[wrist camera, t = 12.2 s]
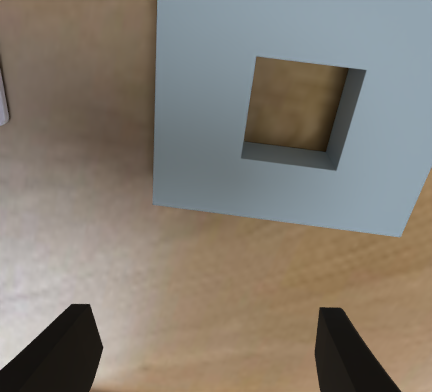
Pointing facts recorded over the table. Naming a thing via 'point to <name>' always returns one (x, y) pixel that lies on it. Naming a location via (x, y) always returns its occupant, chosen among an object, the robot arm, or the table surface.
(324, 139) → the table surface
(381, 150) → the light blue flat block
